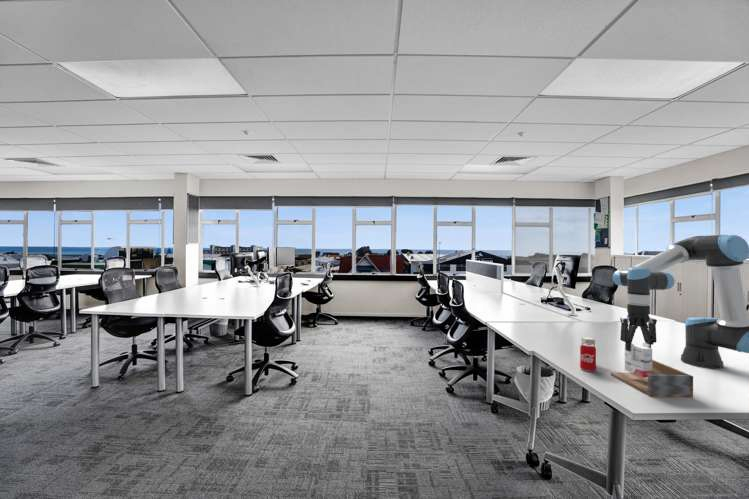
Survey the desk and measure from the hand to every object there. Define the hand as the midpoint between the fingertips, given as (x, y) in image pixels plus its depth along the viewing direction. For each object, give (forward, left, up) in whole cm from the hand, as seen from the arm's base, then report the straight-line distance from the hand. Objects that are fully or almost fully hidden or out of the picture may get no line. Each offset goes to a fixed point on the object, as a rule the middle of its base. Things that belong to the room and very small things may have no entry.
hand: (638, 358), depth 139 cm
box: (+7, -23, -11) cm, 26 cm away
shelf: (-3, +2, -10) cm, 11 cm away
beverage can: (+12, -15, -11) cm, 22 cm away
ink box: (0, 0, -7) cm, 7 cm away
